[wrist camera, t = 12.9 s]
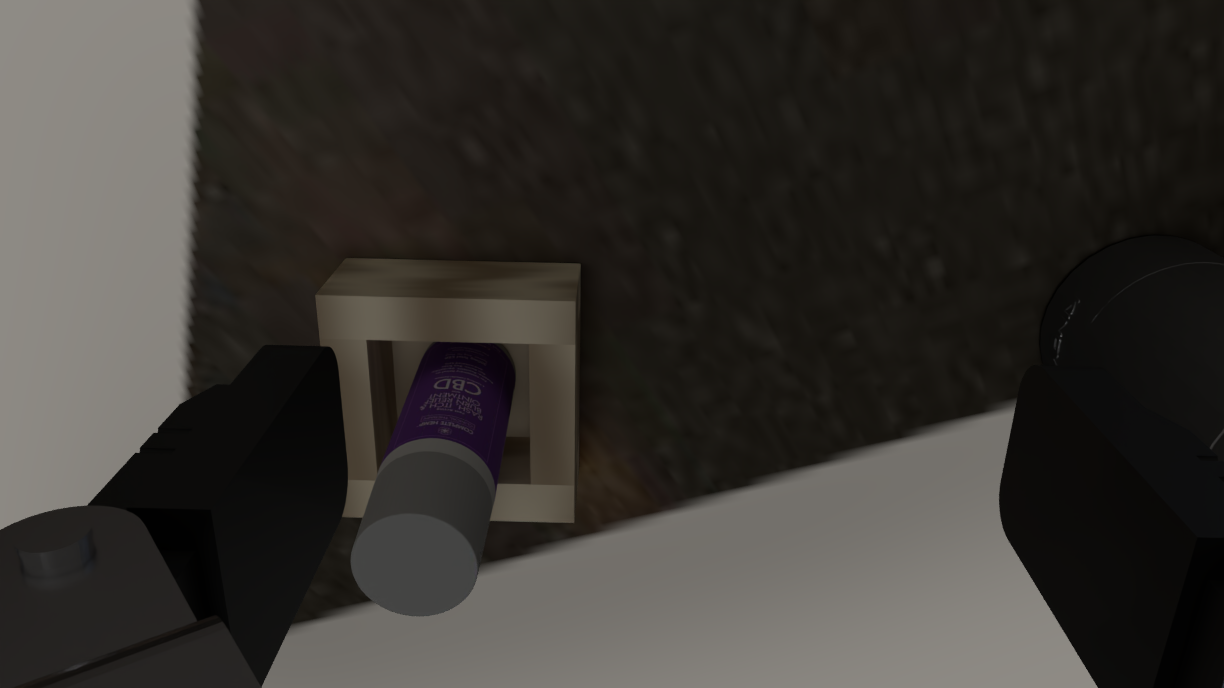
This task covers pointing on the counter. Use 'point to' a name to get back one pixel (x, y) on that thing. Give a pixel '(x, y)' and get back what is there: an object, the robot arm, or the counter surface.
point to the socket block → (461, 312)
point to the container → (437, 482)
